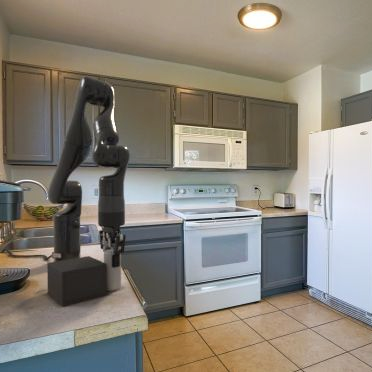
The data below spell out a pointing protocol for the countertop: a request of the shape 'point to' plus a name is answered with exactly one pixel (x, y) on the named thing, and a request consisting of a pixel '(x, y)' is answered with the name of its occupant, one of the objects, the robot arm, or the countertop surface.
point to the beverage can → (112, 272)
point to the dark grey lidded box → (76, 280)
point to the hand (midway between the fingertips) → (111, 265)
